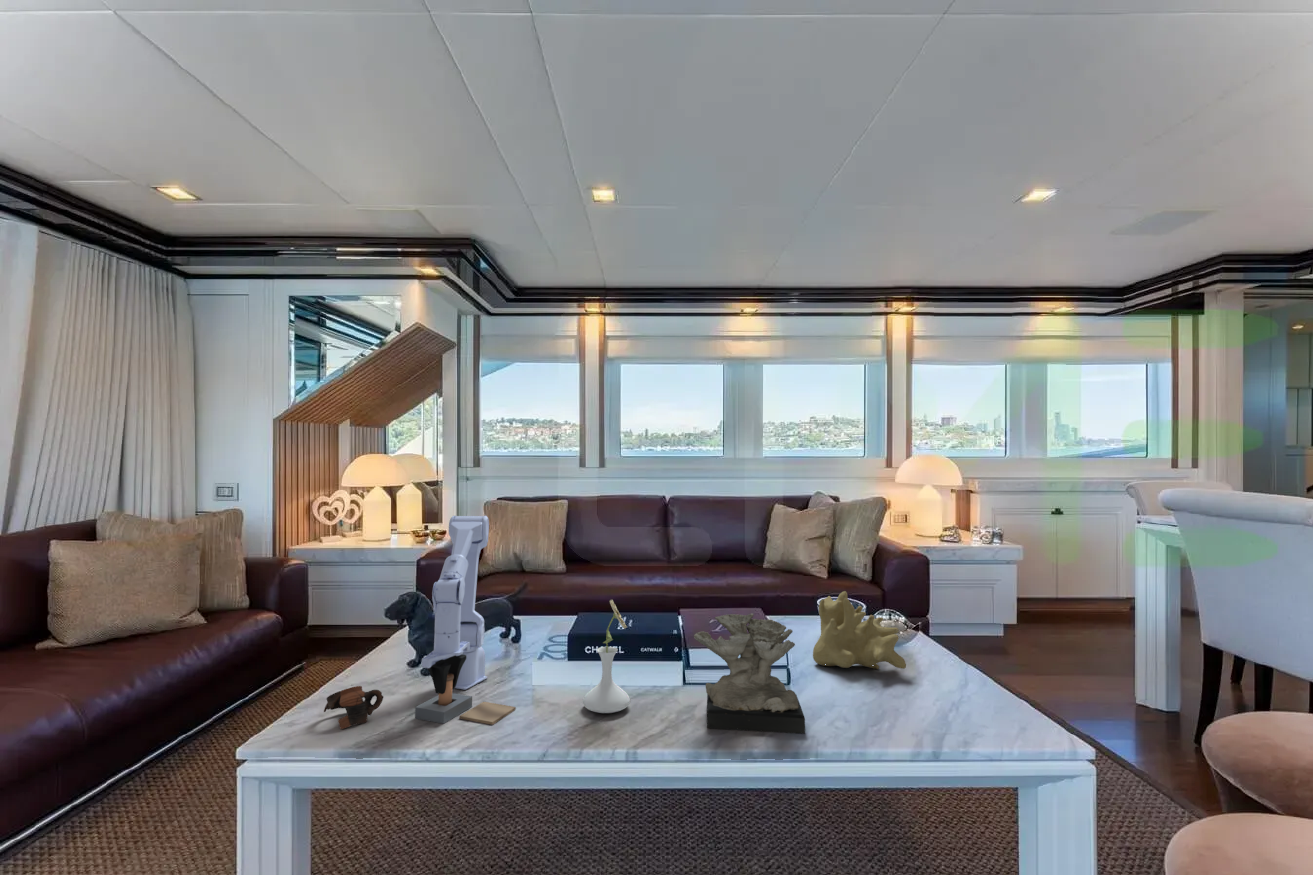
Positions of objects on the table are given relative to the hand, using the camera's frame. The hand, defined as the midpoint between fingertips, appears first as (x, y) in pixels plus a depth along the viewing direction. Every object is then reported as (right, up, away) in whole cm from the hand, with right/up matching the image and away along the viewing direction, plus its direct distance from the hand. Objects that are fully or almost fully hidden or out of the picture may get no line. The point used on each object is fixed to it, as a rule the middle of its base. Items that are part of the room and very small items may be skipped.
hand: (445, 689), depth 138 cm
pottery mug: (-19, -5, -4) cm, 20 cm away
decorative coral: (+108, -9, +35) cm, 114 cm away
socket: (0, -5, 0) cm, 5 cm away
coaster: (+10, -5, -1) cm, 11 cm away
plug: (0, -4, 0) cm, 4 cm away
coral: (+71, -6, +2) cm, 71 cm away
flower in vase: (+37, -6, +4) cm, 38 cm away
